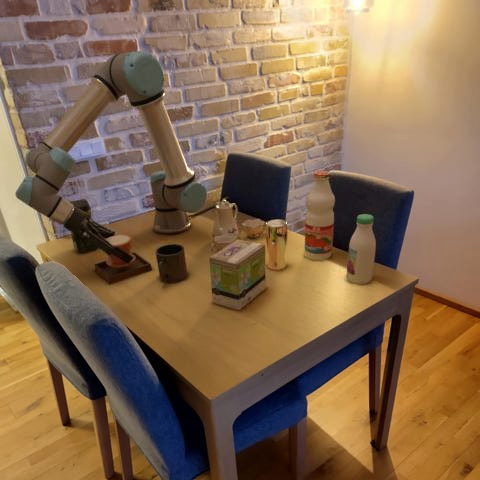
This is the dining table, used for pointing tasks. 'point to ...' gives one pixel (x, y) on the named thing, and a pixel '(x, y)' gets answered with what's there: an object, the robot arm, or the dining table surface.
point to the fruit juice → (319, 218)
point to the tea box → (237, 273)
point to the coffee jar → (78, 240)
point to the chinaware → (231, 226)
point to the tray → (123, 269)
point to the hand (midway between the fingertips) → (129, 254)
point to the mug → (171, 263)
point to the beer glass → (276, 243)
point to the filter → (123, 244)
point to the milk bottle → (361, 251)
